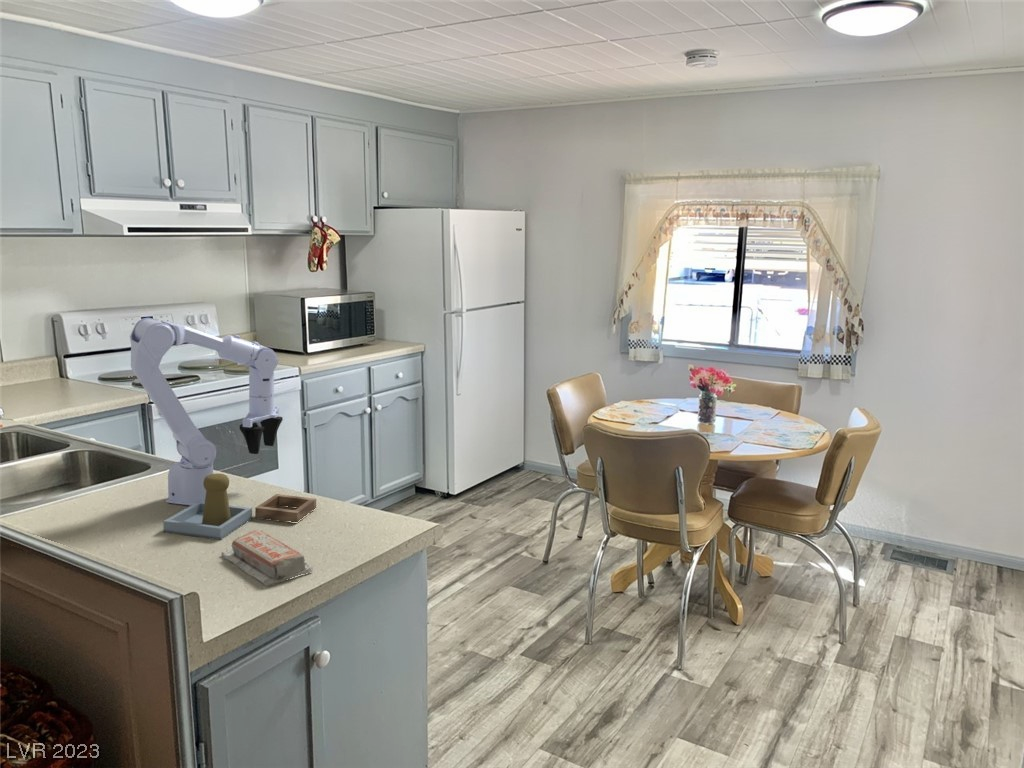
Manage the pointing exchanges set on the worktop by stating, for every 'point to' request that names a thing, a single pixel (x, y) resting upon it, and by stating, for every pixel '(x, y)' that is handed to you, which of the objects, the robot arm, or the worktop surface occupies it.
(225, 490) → the cork
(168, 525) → the parts tray
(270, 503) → the frame
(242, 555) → the packaged product
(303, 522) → the worktop surface
